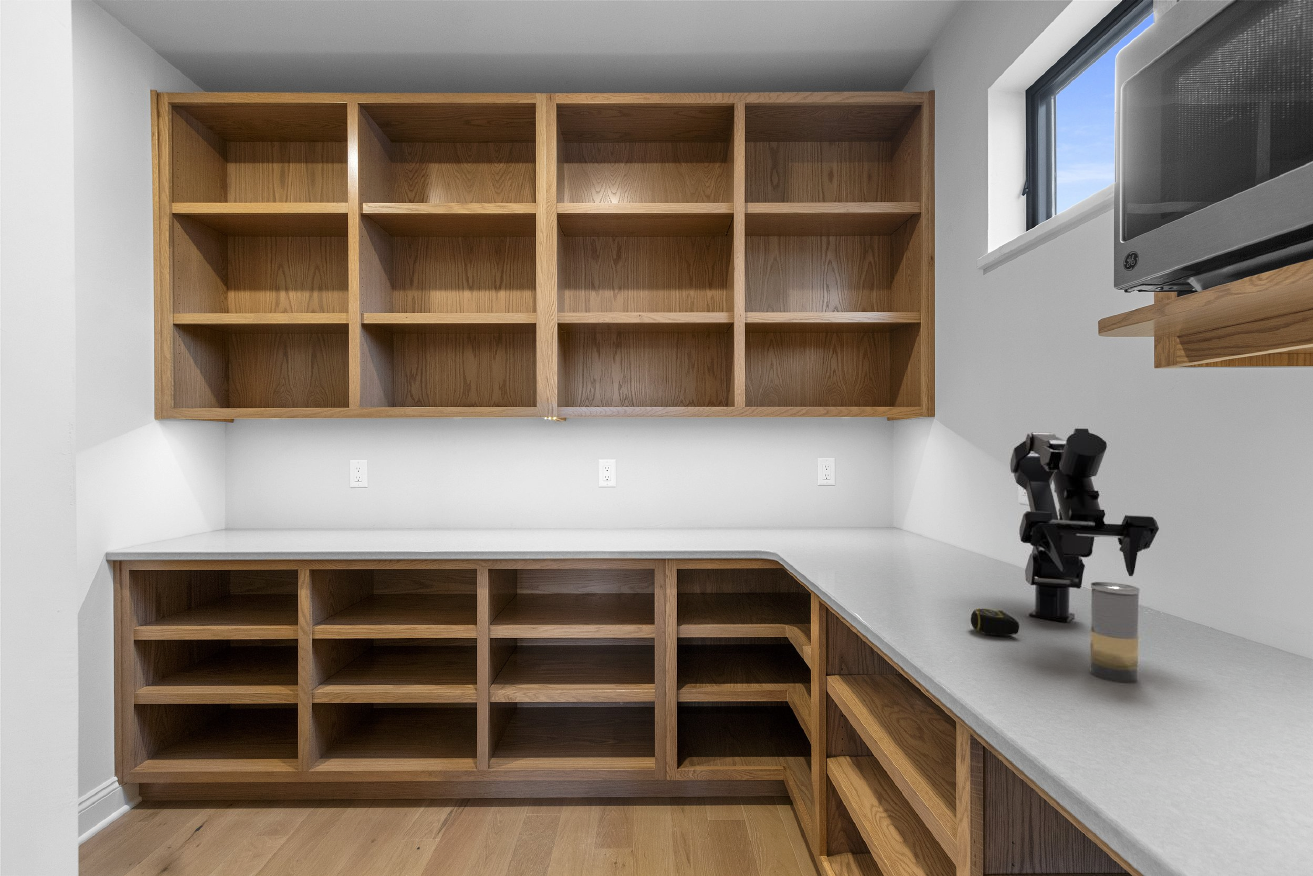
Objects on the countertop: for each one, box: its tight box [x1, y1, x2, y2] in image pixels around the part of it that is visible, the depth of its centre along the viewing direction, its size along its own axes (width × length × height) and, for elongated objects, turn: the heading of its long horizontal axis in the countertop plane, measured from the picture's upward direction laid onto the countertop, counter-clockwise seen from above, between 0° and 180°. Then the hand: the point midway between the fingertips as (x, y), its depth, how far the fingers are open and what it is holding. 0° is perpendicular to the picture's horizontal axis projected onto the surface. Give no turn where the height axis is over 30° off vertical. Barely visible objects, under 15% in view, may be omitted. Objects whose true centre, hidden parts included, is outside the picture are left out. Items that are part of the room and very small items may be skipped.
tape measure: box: [970, 608, 1020, 636], centre depth 117 cm, size 7×7×4 cm
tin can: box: [1089, 581, 1141, 684], centre depth 96 cm, size 6×6×13 cm
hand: (1097, 572), depth 103 cm, fingers open, 9 cm apart
